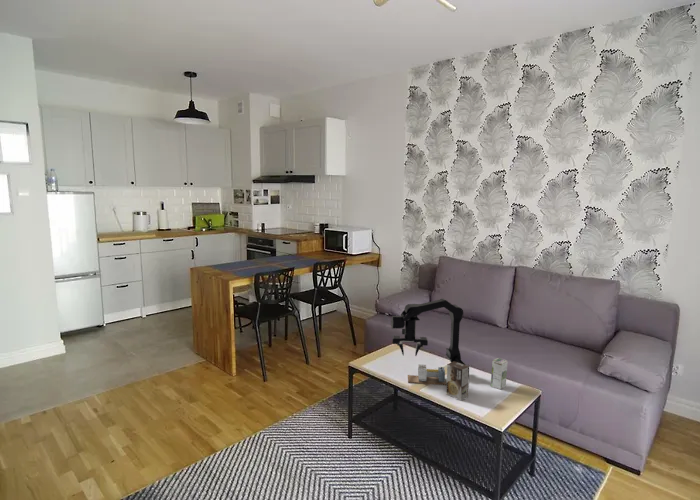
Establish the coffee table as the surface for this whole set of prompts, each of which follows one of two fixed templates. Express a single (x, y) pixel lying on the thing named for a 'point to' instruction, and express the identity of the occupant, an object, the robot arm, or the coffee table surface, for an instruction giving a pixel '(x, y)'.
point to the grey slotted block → (422, 372)
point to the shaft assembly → (437, 373)
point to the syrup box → (499, 373)
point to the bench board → (428, 380)
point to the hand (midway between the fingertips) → (409, 355)
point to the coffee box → (457, 380)
